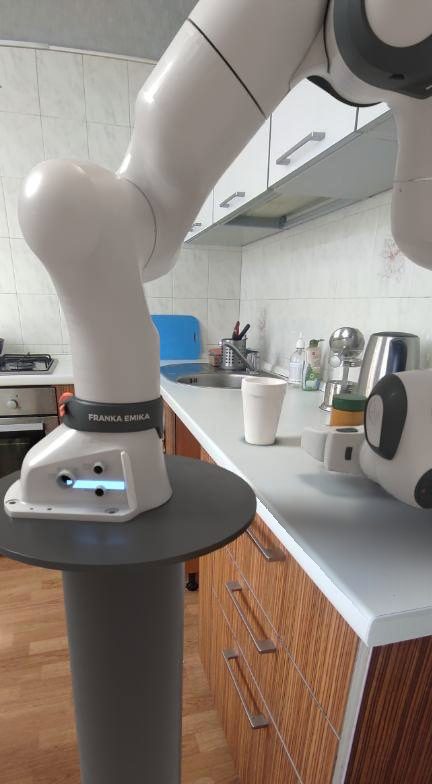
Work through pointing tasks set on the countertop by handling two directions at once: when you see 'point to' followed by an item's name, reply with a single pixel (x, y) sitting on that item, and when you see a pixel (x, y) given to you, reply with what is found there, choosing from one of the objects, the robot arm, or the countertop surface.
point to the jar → (346, 417)
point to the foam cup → (262, 408)
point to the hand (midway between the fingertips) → (343, 428)
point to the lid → (349, 402)
